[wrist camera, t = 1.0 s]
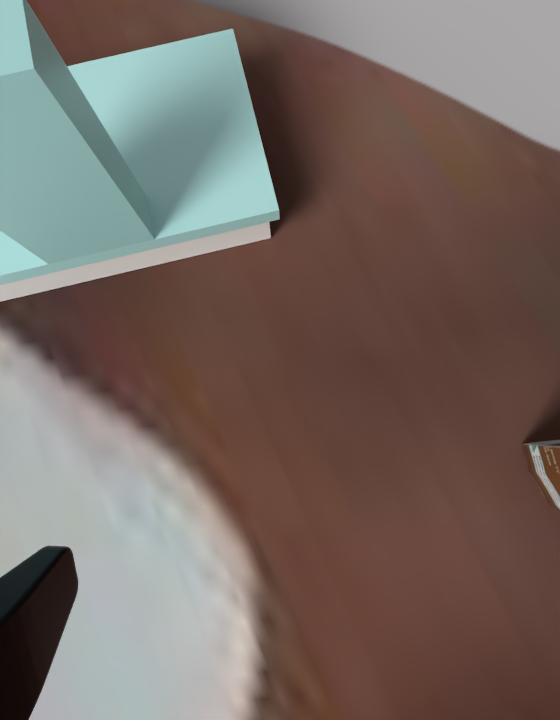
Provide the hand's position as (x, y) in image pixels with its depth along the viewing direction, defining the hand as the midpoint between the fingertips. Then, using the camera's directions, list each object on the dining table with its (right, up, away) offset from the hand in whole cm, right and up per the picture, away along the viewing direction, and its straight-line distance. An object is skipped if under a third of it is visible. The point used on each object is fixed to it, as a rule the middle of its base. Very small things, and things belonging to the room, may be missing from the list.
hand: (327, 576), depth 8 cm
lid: (-9, +12, +12) cm, 19 cm away
